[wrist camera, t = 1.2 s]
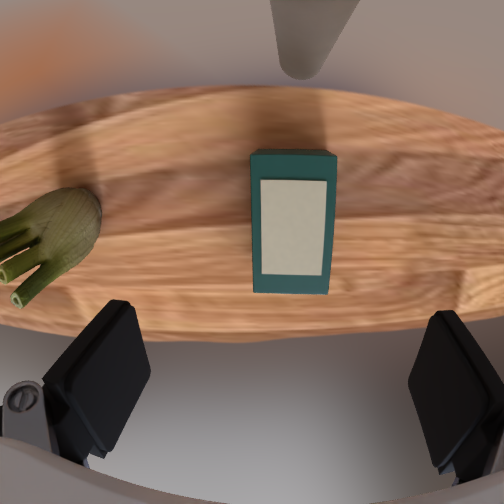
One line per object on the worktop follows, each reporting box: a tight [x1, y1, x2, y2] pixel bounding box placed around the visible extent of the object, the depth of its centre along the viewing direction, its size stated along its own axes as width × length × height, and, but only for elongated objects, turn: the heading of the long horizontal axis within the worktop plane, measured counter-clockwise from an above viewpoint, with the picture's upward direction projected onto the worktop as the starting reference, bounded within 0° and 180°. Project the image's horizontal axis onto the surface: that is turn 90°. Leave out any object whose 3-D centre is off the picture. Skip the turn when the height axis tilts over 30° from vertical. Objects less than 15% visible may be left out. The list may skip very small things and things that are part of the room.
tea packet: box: [250, 149, 337, 295], centre depth 20 cm, size 9×5×5 cm, turn 1°
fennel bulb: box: [0, 188, 102, 308], centre depth 19 cm, size 6×5×12 cm
